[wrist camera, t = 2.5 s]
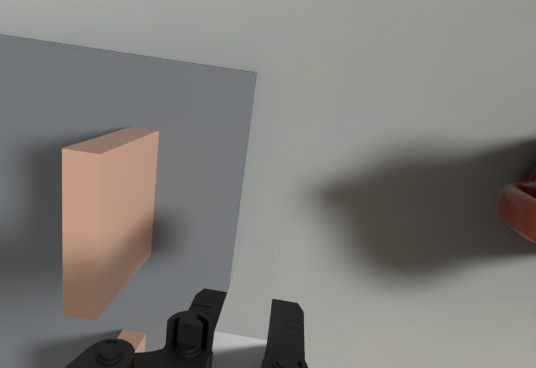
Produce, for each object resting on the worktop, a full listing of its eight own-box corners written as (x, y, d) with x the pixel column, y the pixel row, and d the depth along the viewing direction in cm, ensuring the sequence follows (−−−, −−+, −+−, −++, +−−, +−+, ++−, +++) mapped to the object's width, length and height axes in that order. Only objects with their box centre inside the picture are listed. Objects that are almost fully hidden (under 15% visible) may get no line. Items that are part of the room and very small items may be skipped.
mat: (-75, 23, 23) (-94, 20, 22) (256, 72, 22) (254, 72, 21) (-36, 416, 32) (-49, 429, 30) (206, 461, 31) (202, 476, 30)
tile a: (128, 125, 23) (56, 147, 16) (159, 130, 23) (99, 154, 16) (123, 249, 25) (58, 314, 18) (151, 254, 25) (96, 320, 18)
